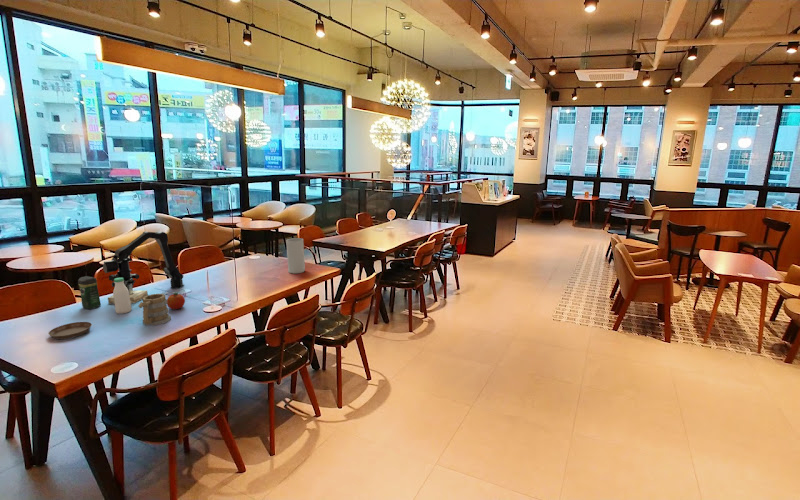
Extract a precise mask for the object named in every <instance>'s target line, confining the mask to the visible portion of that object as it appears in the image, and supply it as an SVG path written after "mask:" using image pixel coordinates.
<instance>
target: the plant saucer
mask: <svg viewBox="0 0 800 500" xmlns="http://www.w3.org/2000/svg"><path fill="white" fill-rule="evenodd" d="M92 325H93V323H91V321H90V322H89V321H75V322H71V323H65V324H62V325H60V326H56V327H54V328H52V329H51V330H49V331H48V336H49V337H51V338H53V339H55V340H68V339H74V338H77V337H80V336H82V335H85V334H86V333H88V331H89V330H90V329H91V328H92Z"/></svg>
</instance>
